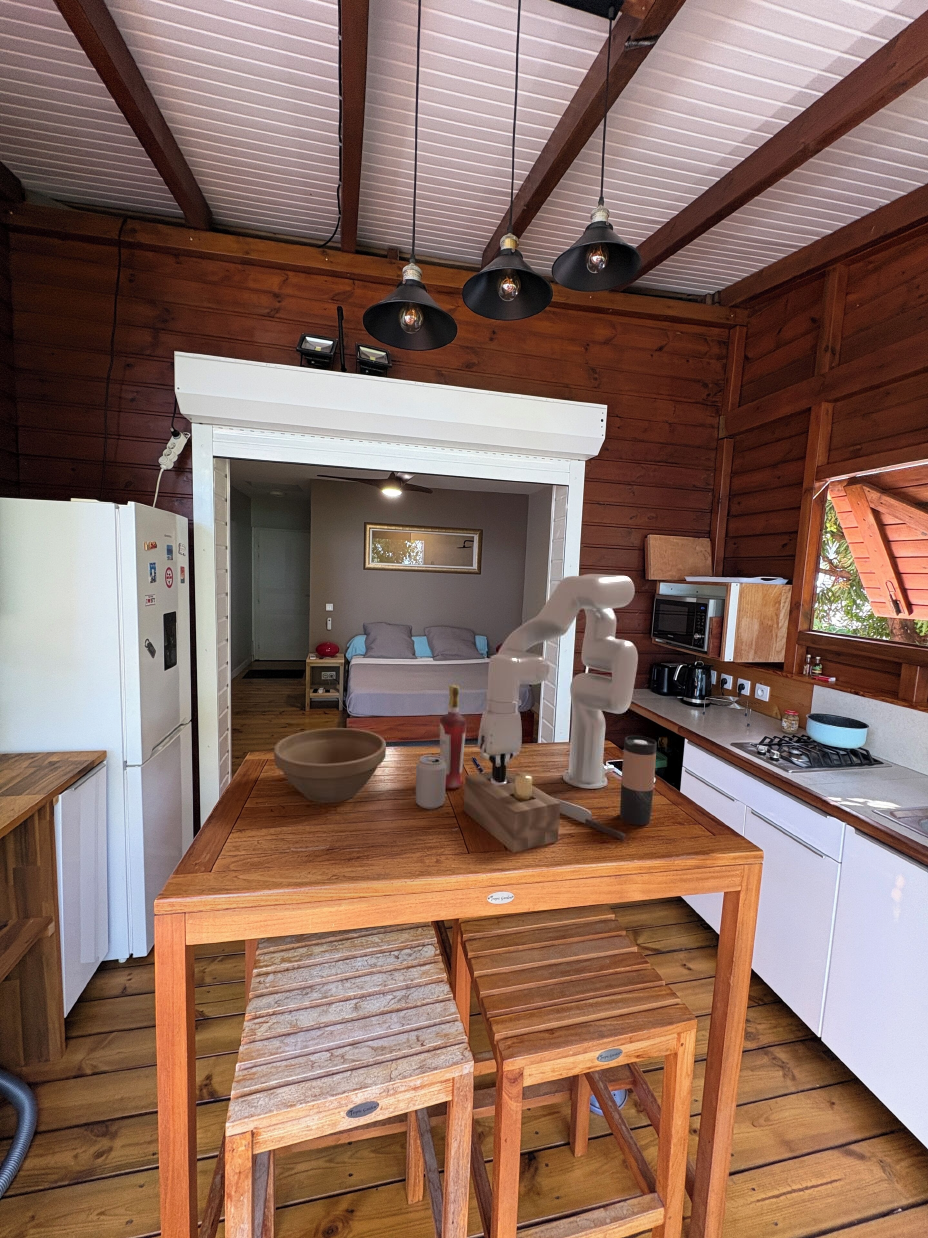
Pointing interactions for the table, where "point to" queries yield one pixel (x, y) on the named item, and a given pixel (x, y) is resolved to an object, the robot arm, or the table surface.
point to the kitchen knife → (587, 818)
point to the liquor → (453, 741)
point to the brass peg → (523, 786)
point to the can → (430, 781)
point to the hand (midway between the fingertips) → (498, 780)
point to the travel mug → (637, 779)
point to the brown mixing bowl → (330, 761)
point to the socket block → (511, 812)
